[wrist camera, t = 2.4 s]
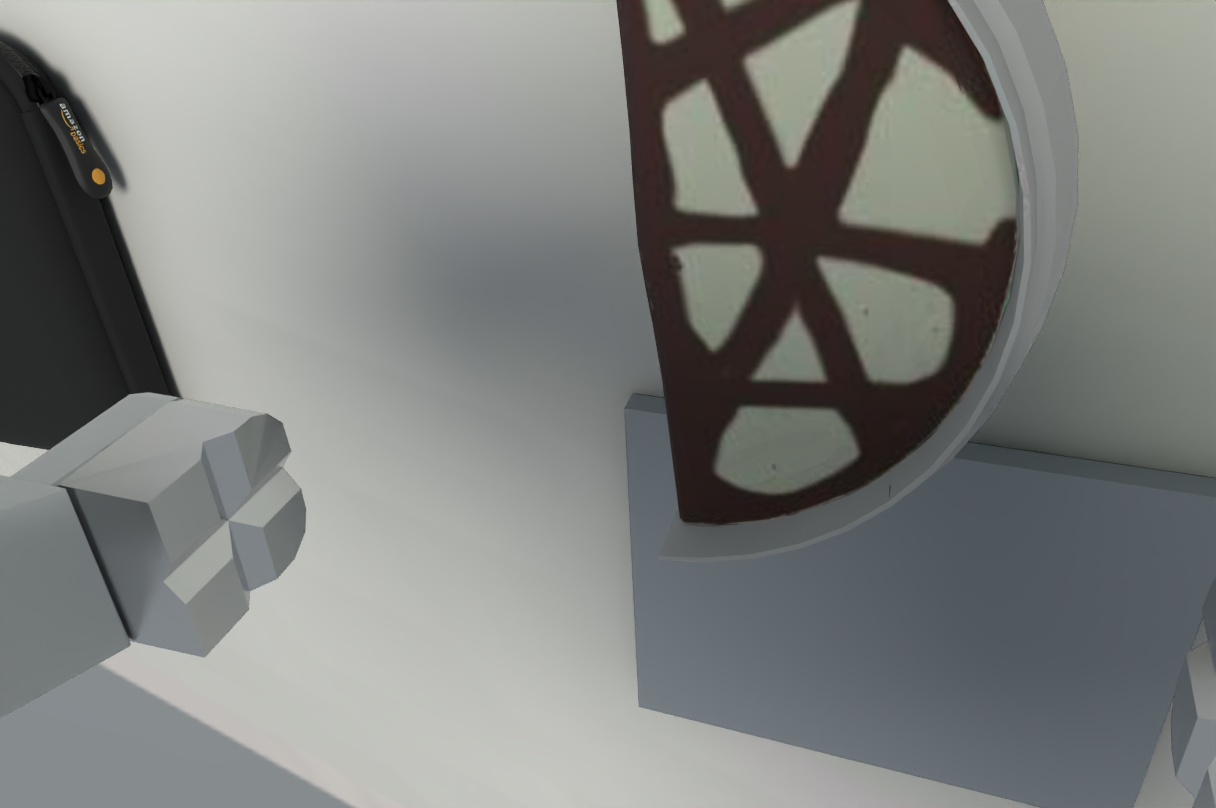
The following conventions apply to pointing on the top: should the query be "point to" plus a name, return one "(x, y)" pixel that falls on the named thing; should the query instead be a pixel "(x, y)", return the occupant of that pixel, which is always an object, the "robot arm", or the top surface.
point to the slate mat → (942, 622)
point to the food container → (839, 244)
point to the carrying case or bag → (59, 272)
